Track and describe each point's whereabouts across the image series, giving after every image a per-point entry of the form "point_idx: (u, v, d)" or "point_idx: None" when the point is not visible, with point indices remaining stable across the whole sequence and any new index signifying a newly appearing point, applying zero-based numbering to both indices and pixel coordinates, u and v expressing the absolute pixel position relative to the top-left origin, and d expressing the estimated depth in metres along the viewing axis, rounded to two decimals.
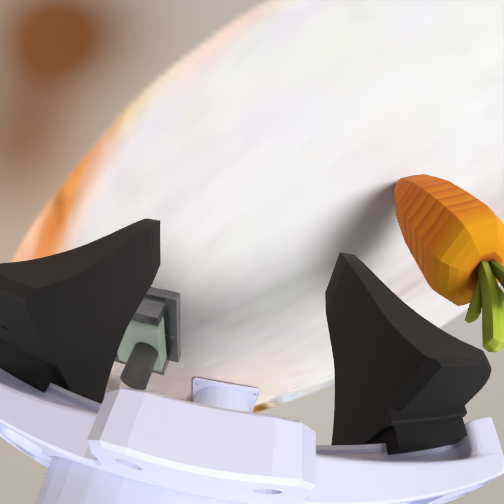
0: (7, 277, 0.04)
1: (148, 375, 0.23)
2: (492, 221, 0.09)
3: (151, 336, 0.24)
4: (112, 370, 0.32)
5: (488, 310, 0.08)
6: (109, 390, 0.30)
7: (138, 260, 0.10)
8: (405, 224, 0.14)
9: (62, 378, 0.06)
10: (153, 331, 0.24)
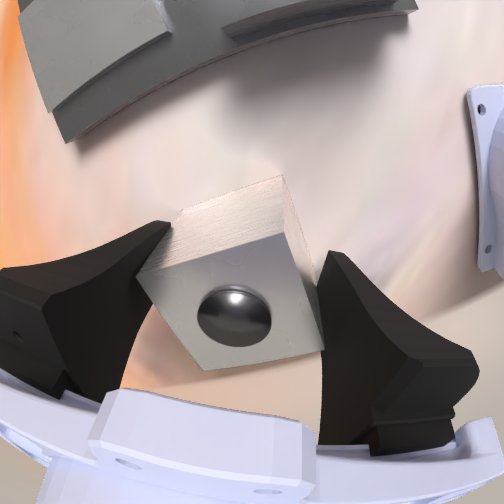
0: (20, 282, 0.04)
1: None
2: None
3: None
4: (237, 201, 0.11)
5: None
6: (247, 234, 0.08)
7: None
8: None
9: (76, 384, 0.06)
10: None
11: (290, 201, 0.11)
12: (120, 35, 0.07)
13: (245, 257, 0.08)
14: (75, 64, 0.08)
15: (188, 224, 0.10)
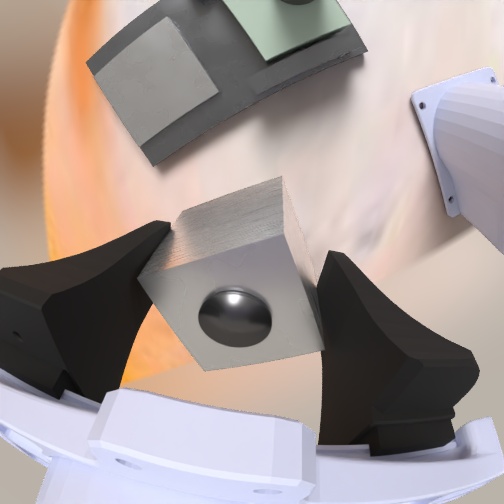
0: (20, 282, 0.04)
1: None
2: None
3: None
4: (237, 202, 0.11)
5: None
6: (247, 236, 0.08)
7: None
8: None
9: (76, 383, 0.06)
10: None
11: (290, 202, 0.11)
12: (188, 94, 0.15)
13: (245, 259, 0.08)
14: (156, 114, 0.15)
15: (188, 226, 0.10)
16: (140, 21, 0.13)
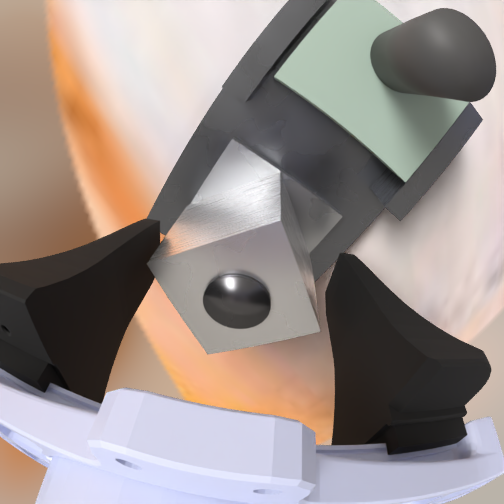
0: (7, 277, 0.04)
1: None
2: None
3: (361, 4, 0.07)
4: (238, 196, 0.11)
5: None
6: (247, 223, 0.09)
7: (138, 260, 0.10)
8: None
9: (62, 378, 0.06)
10: None
11: (287, 196, 0.12)
12: (307, 231, 0.14)
13: (246, 244, 0.09)
14: None
15: (193, 217, 0.11)
16: (193, 152, 0.13)
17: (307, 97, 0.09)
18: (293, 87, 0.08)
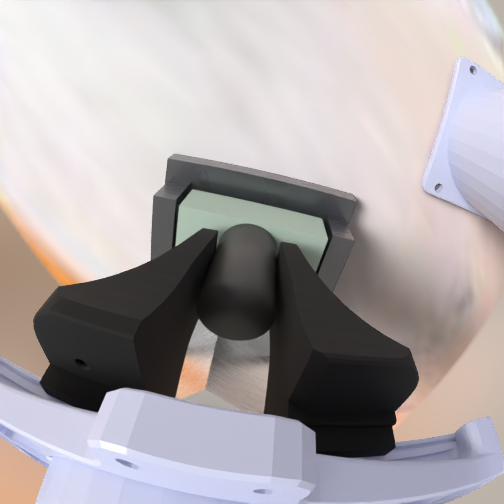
0: (92, 306, 0.04)
1: (238, 263, 0.09)
2: None
3: (194, 222, 0.12)
4: (198, 349, 0.17)
5: None
6: (194, 387, 0.14)
7: (203, 272, 0.10)
8: None
9: None
10: (178, 212, 0.11)
11: None
12: (259, 345, 0.18)
13: (196, 398, 0.14)
14: None
15: None
16: None
17: None
18: None
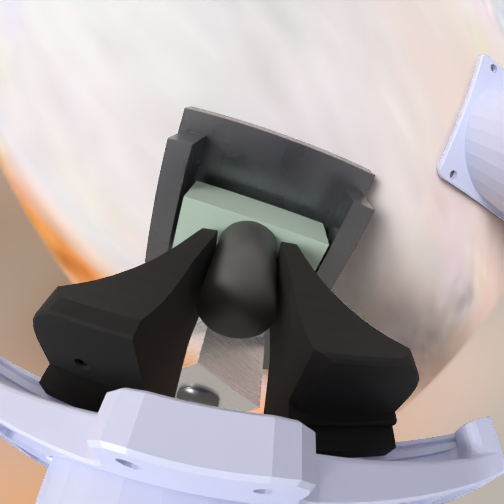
0: (92, 306, 0.04)
1: (242, 260, 0.09)
2: None
3: (197, 214, 0.11)
4: None
5: None
6: (184, 360, 0.13)
7: (203, 273, 0.10)
8: None
9: None
10: (182, 202, 0.11)
11: None
12: None
13: (186, 373, 0.13)
14: None
15: None
16: None
17: None
18: None
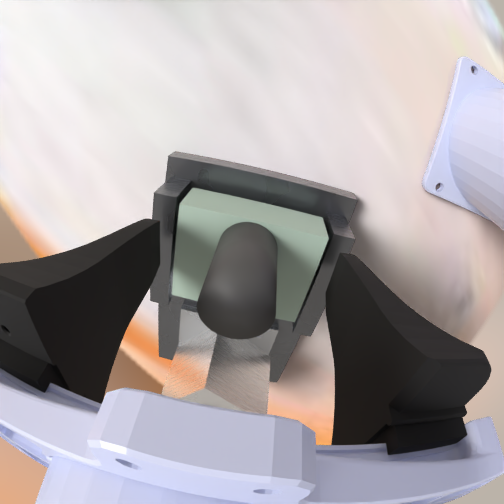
0: (7, 277, 0.04)
1: (238, 261, 0.09)
2: None
3: (194, 220, 0.12)
4: (197, 348, 0.17)
5: None
6: (194, 385, 0.14)
7: (138, 260, 0.10)
8: None
9: (62, 377, 0.06)
10: None
11: None
12: (258, 344, 0.18)
13: (196, 397, 0.14)
14: None
15: (177, 366, 0.17)
16: (165, 316, 0.18)
17: (198, 300, 0.14)
18: (186, 297, 0.14)
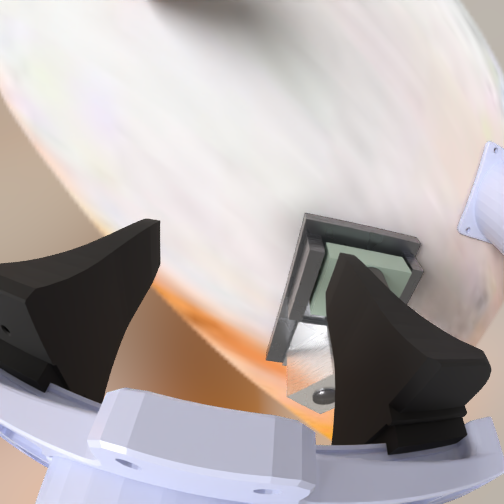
0: (7, 277, 0.04)
1: None
2: None
3: None
4: (312, 349, 0.23)
5: None
6: (321, 374, 0.20)
7: (138, 260, 0.10)
8: None
9: (62, 377, 0.06)
10: (329, 261, 0.18)
11: None
12: None
13: (323, 382, 0.20)
14: None
15: (295, 364, 0.23)
16: (280, 329, 0.25)
17: None
18: (320, 314, 0.20)
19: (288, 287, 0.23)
